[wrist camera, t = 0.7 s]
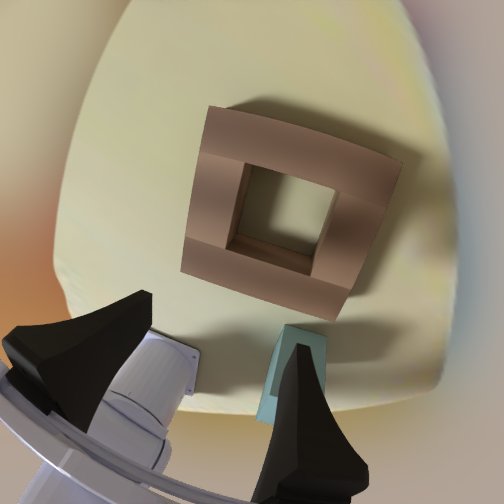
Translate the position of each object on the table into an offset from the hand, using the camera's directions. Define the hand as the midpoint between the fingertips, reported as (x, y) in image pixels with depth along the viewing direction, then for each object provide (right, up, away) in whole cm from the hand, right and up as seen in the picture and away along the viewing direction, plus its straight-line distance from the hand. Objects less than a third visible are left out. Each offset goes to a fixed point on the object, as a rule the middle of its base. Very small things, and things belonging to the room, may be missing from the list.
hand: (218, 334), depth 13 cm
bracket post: (+6, -5, +12) cm, 14 cm away
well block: (+4, +7, +7) cm, 11 cm away
